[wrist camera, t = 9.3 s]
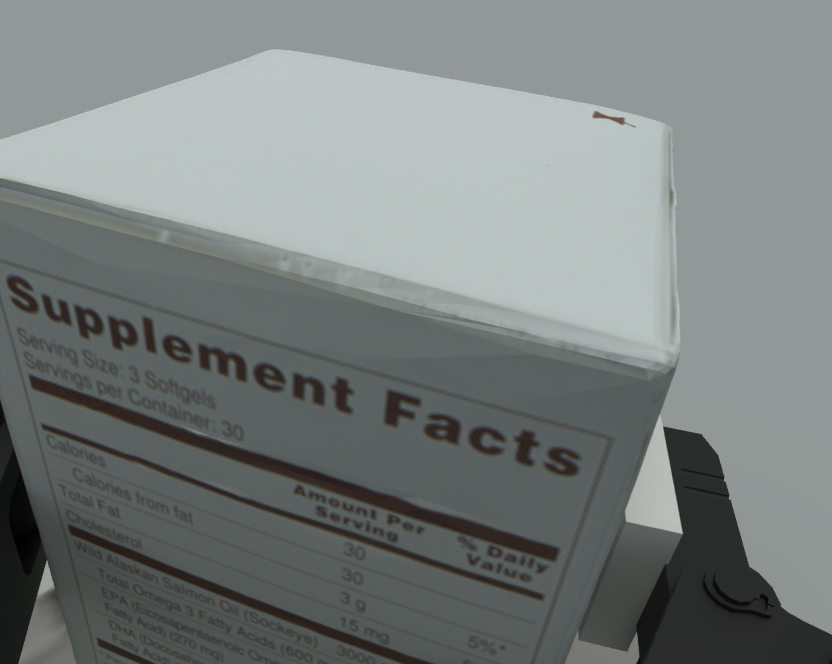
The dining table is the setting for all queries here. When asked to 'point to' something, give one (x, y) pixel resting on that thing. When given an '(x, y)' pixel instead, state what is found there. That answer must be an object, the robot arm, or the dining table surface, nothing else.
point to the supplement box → (334, 361)
